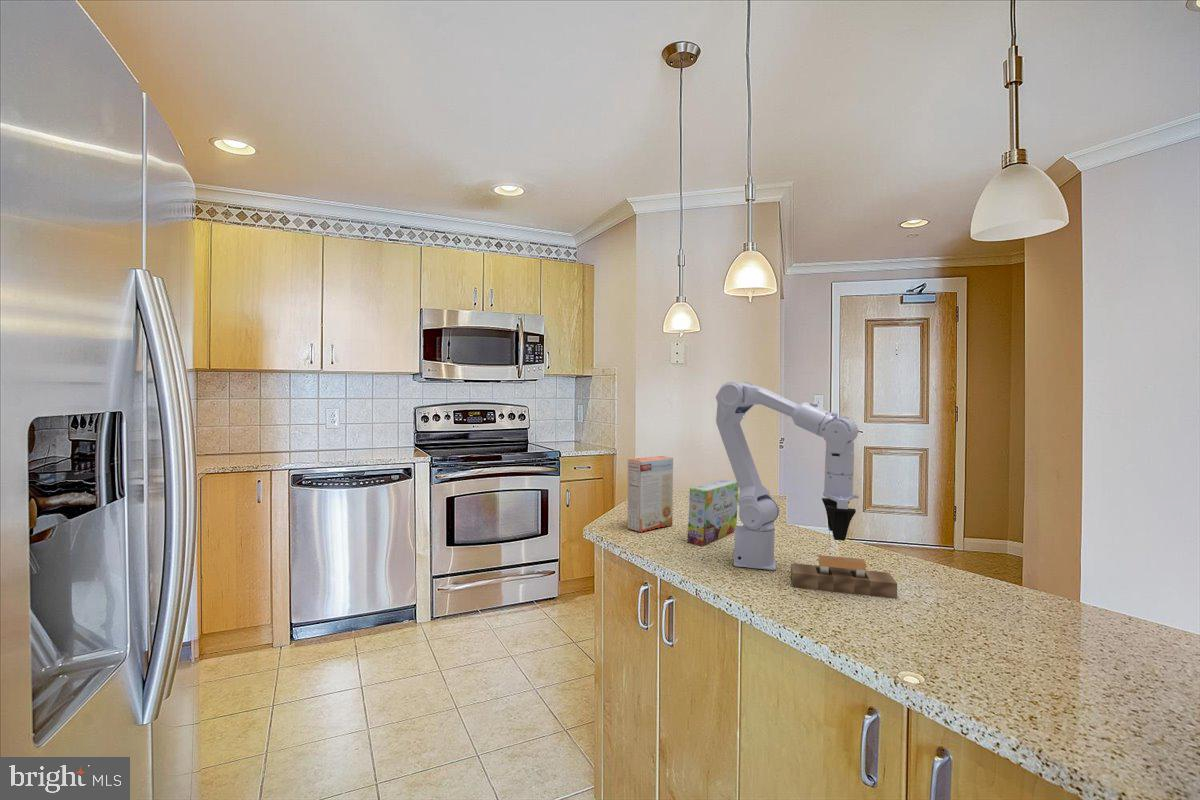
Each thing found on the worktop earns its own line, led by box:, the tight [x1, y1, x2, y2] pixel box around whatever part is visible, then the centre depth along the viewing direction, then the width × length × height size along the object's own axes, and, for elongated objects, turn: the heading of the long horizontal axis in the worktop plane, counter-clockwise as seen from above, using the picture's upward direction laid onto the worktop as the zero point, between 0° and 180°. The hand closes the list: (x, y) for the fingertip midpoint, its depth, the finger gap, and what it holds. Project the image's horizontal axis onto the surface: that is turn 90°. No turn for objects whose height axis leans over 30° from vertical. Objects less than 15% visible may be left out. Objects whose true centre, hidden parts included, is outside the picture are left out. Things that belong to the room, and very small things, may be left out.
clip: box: [817, 554, 867, 578], centre depth 118 cm, size 9×3×6 cm, turn 74°
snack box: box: [687, 479, 739, 547], centre depth 157 cm, size 21×6×15 cm, turn 143°
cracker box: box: [627, 455, 674, 533], centre depth 166 cm, size 14×6×21 cm, turn 130°
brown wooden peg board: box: [790, 562, 898, 599], centre depth 118 cm, size 20×7×3 cm, turn 74°
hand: (836, 535), depth 121 cm, fingers open, 7 cm apart
